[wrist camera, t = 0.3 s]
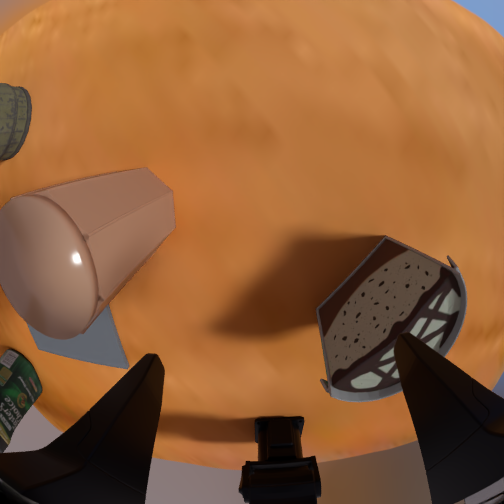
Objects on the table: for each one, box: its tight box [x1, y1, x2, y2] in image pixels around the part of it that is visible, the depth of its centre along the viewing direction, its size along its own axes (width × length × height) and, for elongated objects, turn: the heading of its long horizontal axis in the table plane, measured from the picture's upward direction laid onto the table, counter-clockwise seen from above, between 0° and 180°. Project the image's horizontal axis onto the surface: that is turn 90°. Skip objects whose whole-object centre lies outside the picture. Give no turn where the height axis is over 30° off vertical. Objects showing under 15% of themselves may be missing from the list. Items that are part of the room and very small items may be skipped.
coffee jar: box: [0, 349, 42, 453], centre depth 22 cm, size 10×8×19 cm
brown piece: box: [0, 167, 176, 340], centre depth 15 cm, size 7×7×13 cm
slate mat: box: [26, 304, 129, 369], centre depth 25 cm, size 16×16×1 cm
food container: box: [316, 236, 467, 402], centre depth 19 cm, size 12×6×10 cm, turn 141°
